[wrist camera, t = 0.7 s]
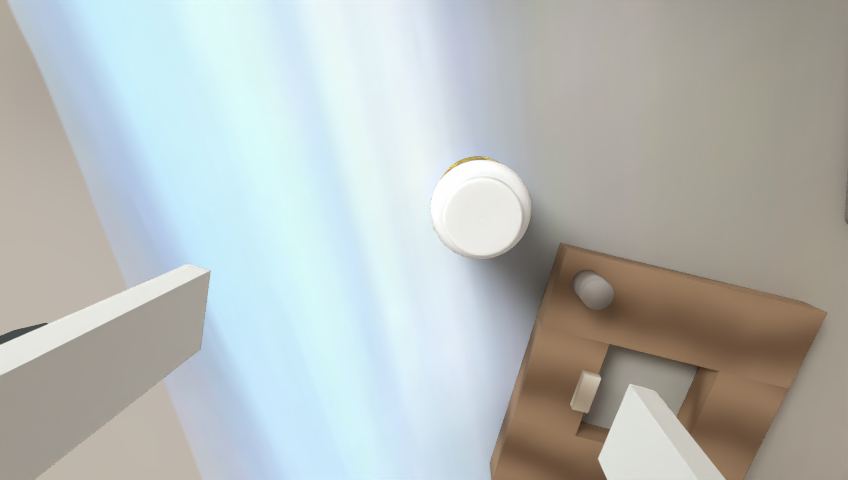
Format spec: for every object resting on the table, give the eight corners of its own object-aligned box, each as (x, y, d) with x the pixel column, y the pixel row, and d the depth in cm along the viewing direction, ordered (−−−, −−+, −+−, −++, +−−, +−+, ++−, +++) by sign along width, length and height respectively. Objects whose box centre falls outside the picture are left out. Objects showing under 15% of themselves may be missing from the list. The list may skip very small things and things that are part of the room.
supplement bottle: (483, 139, 29) (496, 136, 19) (528, 201, 30) (563, 229, 20) (422, 187, 30) (403, 207, 20) (467, 246, 31) (470, 293, 21)
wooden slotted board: (560, 243, 30) (577, 259, 26) (803, 301, 30) (861, 328, 25) (489, 463, 35) (494, 507, 31) (698, 517, 34) (731, 570, 30)
